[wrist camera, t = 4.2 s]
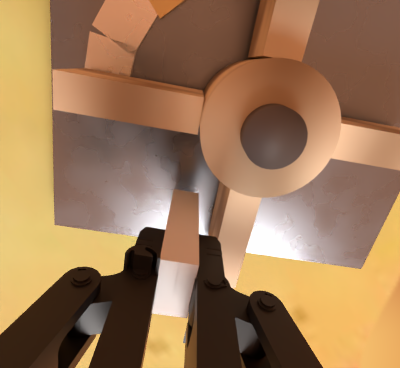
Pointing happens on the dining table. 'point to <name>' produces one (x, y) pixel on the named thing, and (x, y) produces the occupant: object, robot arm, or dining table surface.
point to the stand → (190, 143)
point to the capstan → (245, 121)
